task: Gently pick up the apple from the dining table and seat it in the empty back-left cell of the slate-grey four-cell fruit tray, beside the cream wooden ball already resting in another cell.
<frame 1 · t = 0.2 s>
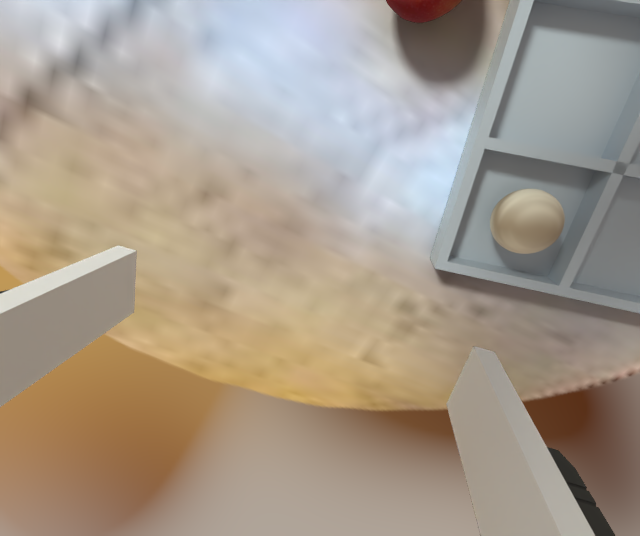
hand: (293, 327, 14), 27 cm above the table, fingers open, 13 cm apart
tray: (597, 165, 34), on the table
wooden ball: (514, 215, 36), point 1 cm above the table, touching tray
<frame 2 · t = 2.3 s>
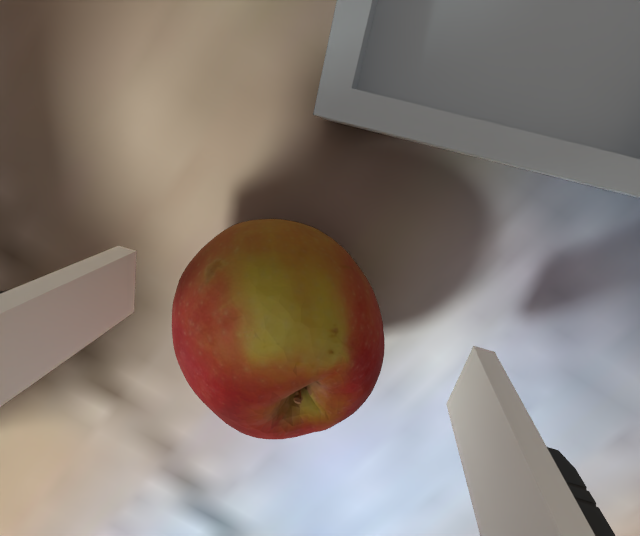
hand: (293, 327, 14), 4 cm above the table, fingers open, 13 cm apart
apple: (300, 281, 18), on the table
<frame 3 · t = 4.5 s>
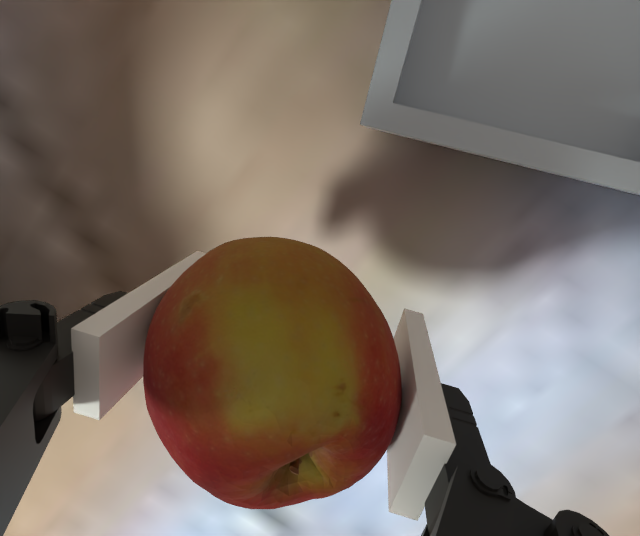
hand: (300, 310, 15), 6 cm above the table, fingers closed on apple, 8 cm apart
apple: (303, 304, 15), point 5 cm above the table, touching gripper
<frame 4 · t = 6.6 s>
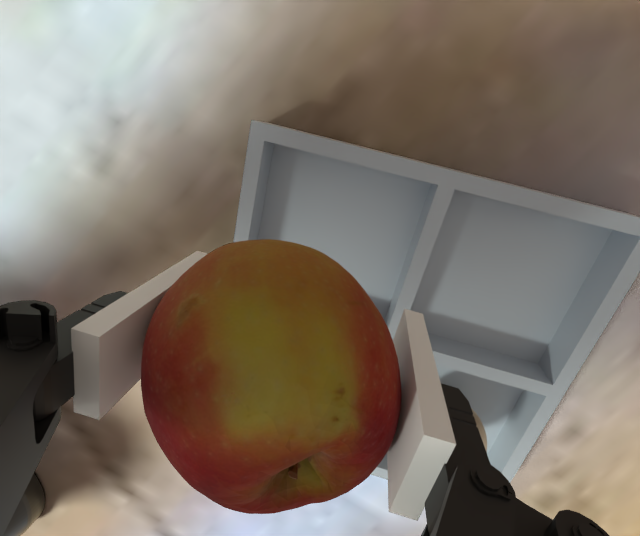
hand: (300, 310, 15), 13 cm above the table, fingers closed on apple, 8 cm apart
tray: (388, 321, 29), on the table
apple: (302, 306, 15), point 13 cm above the table, touching gripper
when the fingers open (4 cm above the table, at t = 8.7 s): apple drops 3 cm, resting on tray.
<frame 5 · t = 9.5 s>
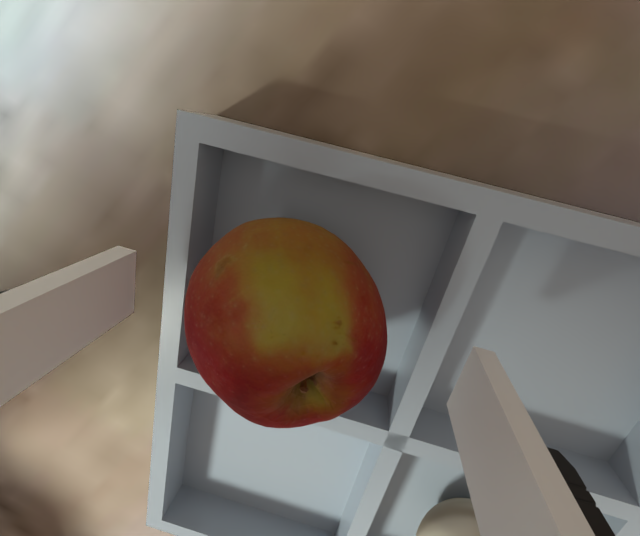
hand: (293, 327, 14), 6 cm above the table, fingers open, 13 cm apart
tray: (393, 394, 21), on the table
apple: (307, 279, 18), point 1 cm above the table, touching tray
wooden ball: (460, 510, 22), point 1 cm above the table, touching tray
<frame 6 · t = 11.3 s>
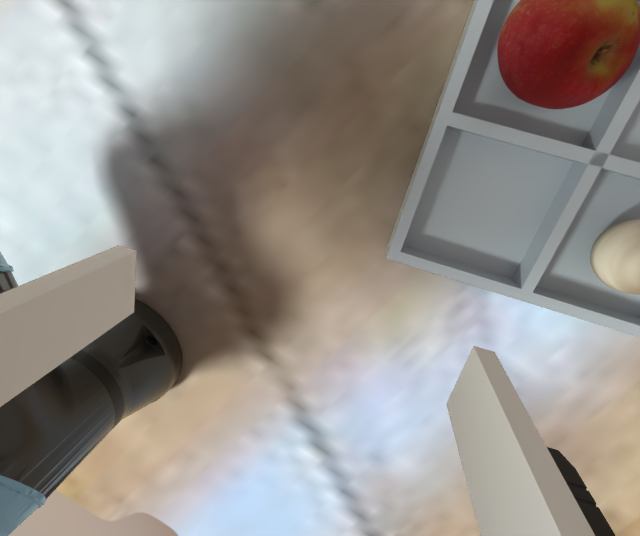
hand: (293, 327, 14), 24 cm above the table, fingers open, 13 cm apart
tray: (576, 156, 30), on the table
apple: (539, 57, 28), point 1 cm above the table, touching tray
wooden ball: (615, 246, 31), point 1 cm above the table, touching tray
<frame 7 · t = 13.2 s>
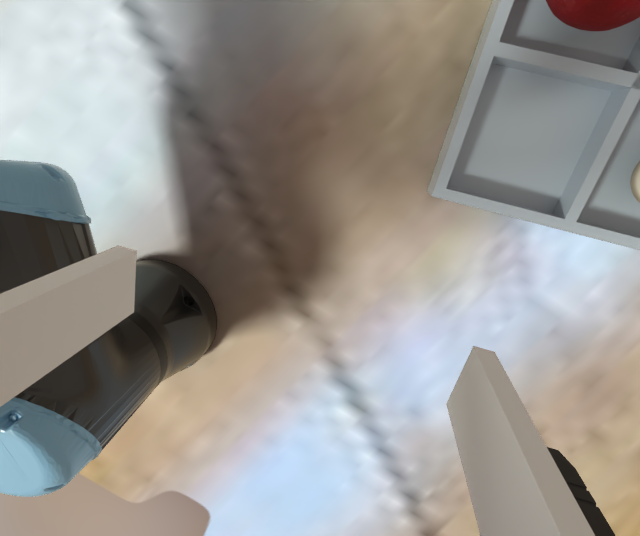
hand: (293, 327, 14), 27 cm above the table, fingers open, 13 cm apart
tray: (613, 87, 31), on the table
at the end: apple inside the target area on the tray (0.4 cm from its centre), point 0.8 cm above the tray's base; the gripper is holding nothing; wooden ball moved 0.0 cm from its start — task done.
